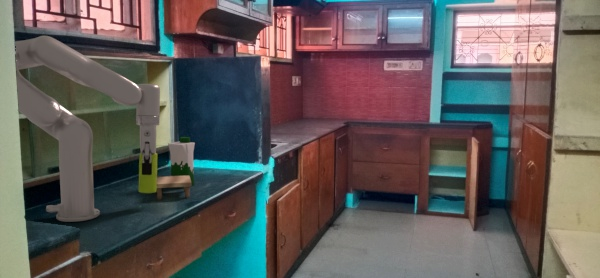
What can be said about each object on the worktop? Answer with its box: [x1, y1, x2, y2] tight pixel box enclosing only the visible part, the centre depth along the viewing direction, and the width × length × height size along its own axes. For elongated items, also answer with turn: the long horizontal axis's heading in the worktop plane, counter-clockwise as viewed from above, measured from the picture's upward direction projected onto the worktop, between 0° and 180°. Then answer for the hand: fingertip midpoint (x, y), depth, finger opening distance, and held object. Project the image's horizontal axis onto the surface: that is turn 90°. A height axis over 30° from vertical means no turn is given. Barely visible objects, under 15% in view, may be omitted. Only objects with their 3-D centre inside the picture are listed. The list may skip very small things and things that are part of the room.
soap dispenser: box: [138, 133, 158, 194], centre depth 163 cm, size 6×7×20 cm
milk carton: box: [167, 136, 196, 189], centre depth 196 cm, size 9×9×20 cm
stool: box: [156, 175, 192, 201], centre depth 181 cm, size 13×13×6 cm
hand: (146, 172), depth 163 cm, fingers closed on soap dispenser, 6 cm apart
